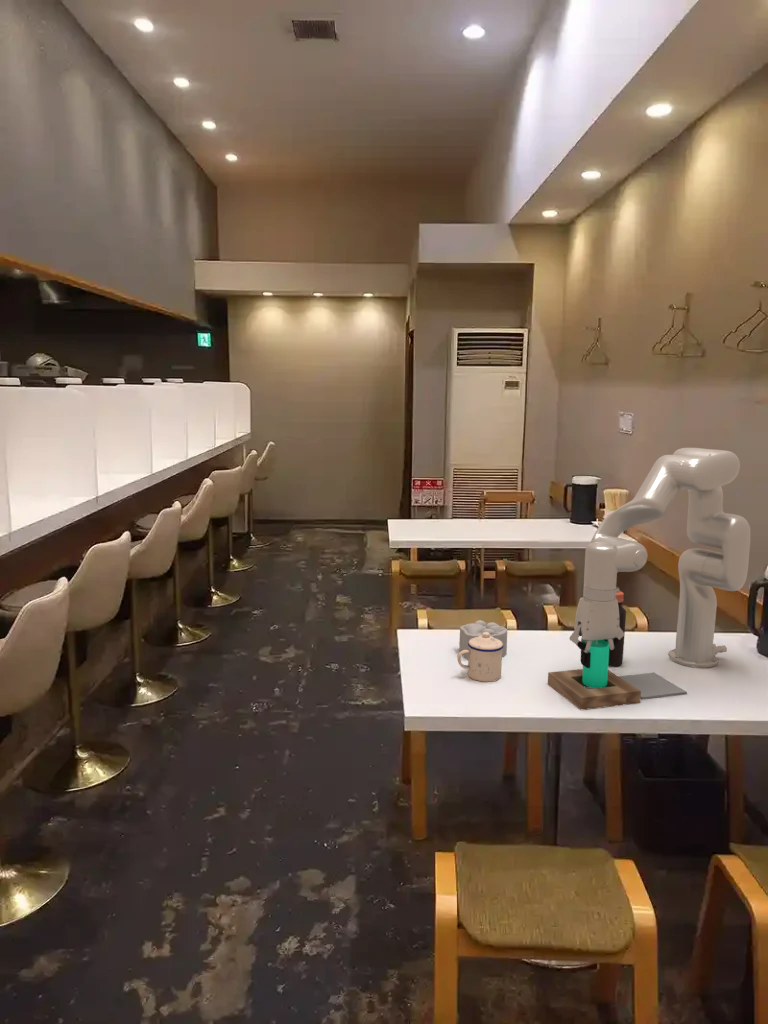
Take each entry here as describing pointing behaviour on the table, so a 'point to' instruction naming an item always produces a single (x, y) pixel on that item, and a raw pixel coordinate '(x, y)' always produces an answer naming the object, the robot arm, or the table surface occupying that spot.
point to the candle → (597, 665)
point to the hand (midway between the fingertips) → (595, 664)
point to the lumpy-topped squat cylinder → (477, 630)
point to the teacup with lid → (483, 658)
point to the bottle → (619, 647)
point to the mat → (653, 685)
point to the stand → (593, 690)
